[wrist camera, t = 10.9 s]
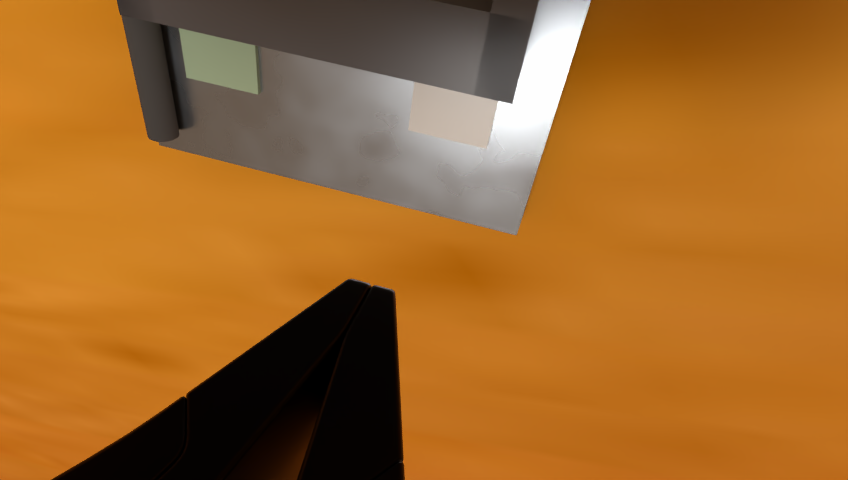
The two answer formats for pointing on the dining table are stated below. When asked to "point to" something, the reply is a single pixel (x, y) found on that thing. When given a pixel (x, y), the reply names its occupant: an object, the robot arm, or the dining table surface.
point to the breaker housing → (366, 48)
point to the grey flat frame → (152, 78)
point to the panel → (381, 127)
